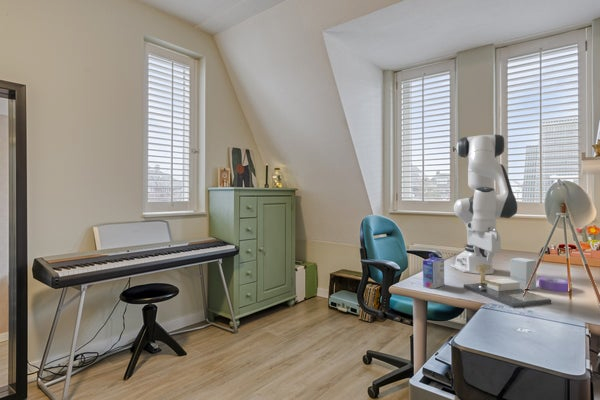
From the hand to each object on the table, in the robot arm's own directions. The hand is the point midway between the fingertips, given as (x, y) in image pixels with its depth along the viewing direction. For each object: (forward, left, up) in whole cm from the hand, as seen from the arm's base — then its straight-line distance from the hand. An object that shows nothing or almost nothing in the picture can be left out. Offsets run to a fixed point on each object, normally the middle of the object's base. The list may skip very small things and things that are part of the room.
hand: (483, 258), depth 145 cm
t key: (+3, +1, -11) cm, 12 cm away
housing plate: (+4, +7, -15) cm, 17 cm away
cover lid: (0, +10, -13) cm, 17 cm away
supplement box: (-3, +24, -15) cm, 28 cm away
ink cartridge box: (-15, -13, -15) cm, 25 cm away
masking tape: (+1, +37, -15) cm, 40 cm away
